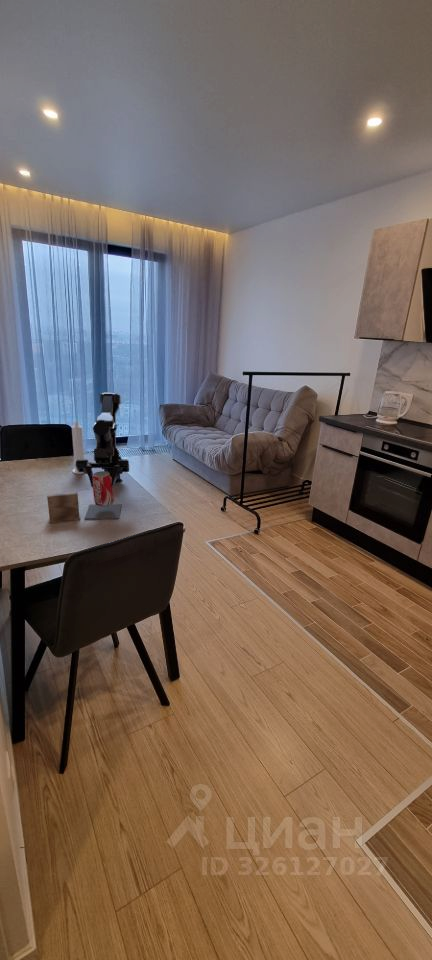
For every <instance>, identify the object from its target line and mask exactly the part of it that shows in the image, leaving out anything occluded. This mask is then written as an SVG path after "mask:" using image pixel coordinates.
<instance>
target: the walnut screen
mask: <svg viewBox="0 0 432 960" xmlns="http://www.w3.org/2000/svg"><path fill="white" fill-rule="evenodd" d="M46 499H47V505H48V506H47V507H48V516H49V520H48V521H49V524H56V523H63V522H71V521H81V516H80V509H79V508H80V506H79V494H78V491H74V492H66V493H55V494H47V496H46Z"/></svg>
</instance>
